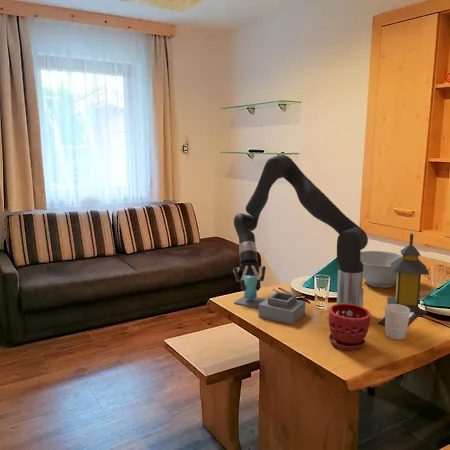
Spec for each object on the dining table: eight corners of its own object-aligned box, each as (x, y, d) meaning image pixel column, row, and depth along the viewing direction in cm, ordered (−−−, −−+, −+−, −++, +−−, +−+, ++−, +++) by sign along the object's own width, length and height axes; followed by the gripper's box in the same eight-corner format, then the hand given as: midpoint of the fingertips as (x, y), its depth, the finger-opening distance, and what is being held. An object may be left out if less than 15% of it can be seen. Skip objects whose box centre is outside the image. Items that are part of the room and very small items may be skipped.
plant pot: (334, 354, 143) (335, 318, 141) (323, 336, 156) (324, 303, 153) (374, 353, 144) (377, 317, 141) (360, 335, 156) (362, 302, 154)
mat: (266, 300, 189) (266, 299, 189) (255, 308, 181) (255, 306, 181) (245, 296, 194) (245, 294, 194) (234, 303, 186) (234, 302, 186)
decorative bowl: (376, 271, 228) (378, 248, 226) (423, 286, 206) (425, 260, 203) (337, 280, 215) (339, 255, 212) (383, 297, 192) (385, 270, 190)
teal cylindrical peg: (258, 296, 188) (259, 275, 186) (253, 300, 184) (253, 279, 182) (248, 294, 191) (248, 273, 189) (241, 297, 186) (241, 276, 185)
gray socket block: (304, 313, 175) (305, 295, 174) (292, 324, 165) (292, 305, 164) (272, 306, 182) (272, 288, 181) (258, 316, 172) (258, 298, 171)
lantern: (388, 311, 177) (393, 236, 171) (387, 298, 191) (391, 229, 185) (427, 315, 173) (433, 238, 167) (423, 302, 186) (429, 231, 181)
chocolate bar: (377, 322, 165) (394, 308, 179) (377, 325, 165) (394, 310, 179) (403, 329, 160) (418, 313, 173) (402, 331, 160) (417, 315, 174)
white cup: (396, 342, 151) (398, 314, 149) (378, 333, 158) (380, 306, 156) (412, 337, 154) (415, 309, 152) (394, 328, 161) (396, 302, 159)
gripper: (231, 249, 191) (234, 286, 181) (265, 249, 191) (269, 285, 182) (231, 258, 197) (233, 294, 187) (263, 257, 198) (267, 293, 188)
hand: (251, 289), depth 185 cm, fingers closed on teal cylindrical peg, 5 cm apart
